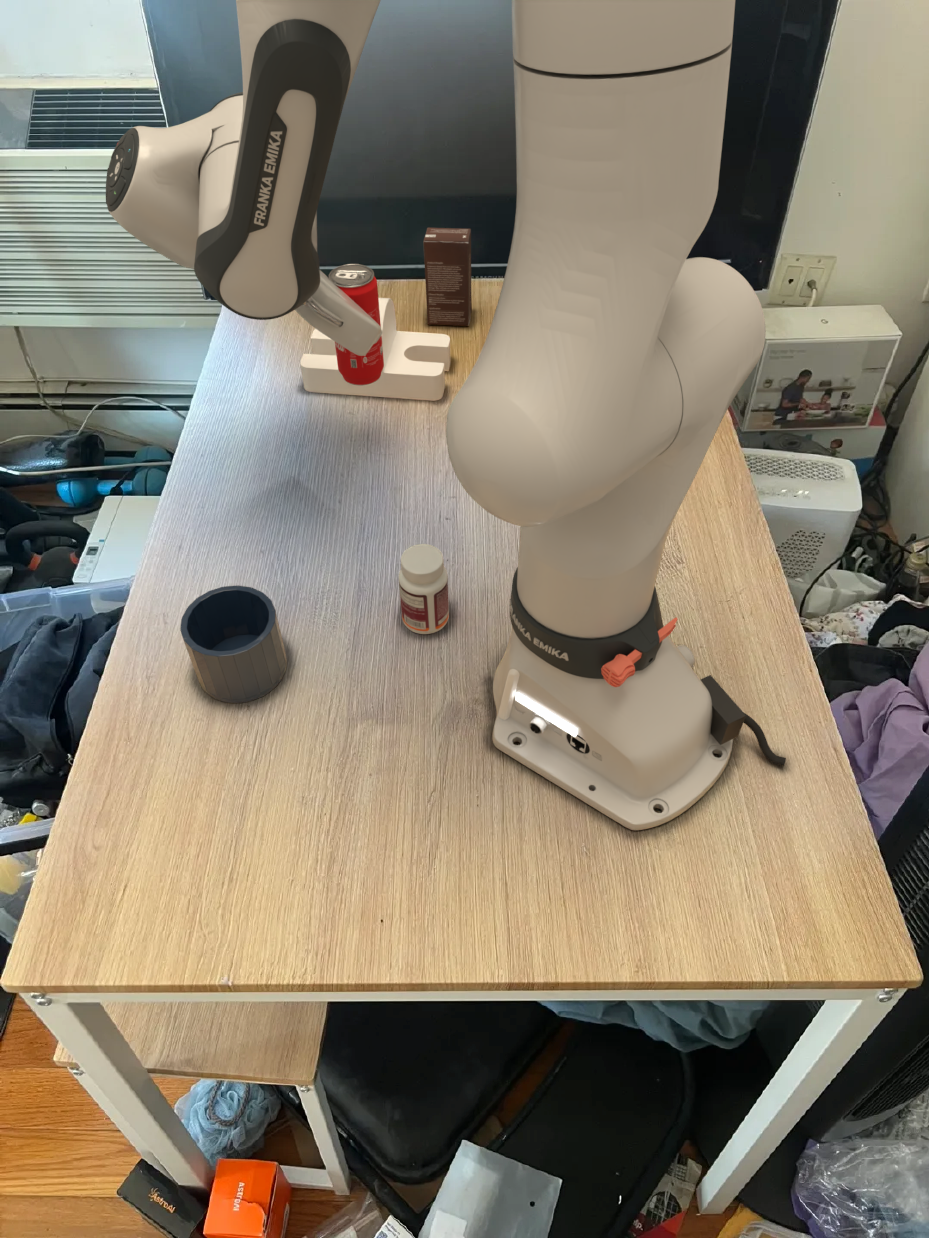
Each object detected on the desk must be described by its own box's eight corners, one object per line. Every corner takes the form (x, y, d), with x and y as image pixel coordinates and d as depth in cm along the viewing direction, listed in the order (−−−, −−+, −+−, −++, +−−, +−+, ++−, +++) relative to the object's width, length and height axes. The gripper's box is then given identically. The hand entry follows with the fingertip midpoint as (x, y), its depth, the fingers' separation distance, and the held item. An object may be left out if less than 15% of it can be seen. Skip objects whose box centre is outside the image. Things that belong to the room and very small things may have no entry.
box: (471, 310, 129) (472, 227, 120) (468, 328, 126) (469, 243, 117) (429, 308, 129) (426, 225, 120) (425, 325, 126) (422, 241, 117)
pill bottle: (439, 594, 93) (437, 535, 87) (455, 627, 90) (455, 568, 84) (395, 607, 92) (389, 548, 86) (410, 641, 89) (406, 582, 83)
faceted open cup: (304, 669, 87) (293, 621, 82) (229, 718, 83) (213, 671, 78) (254, 620, 91) (241, 571, 86) (181, 665, 87) (162, 617, 82)
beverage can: (377, 390, 102) (368, 289, 93) (333, 384, 102) (320, 285, 93) (389, 364, 105) (381, 265, 96) (346, 359, 106) (334, 260, 97)
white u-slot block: (441, 401, 115) (439, 328, 107) (302, 391, 116) (290, 319, 109) (451, 358, 121) (450, 287, 113) (319, 349, 123) (309, 278, 115)
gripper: (329, 277, 82) (427, 341, 92) (239, 193, 93) (335, 259, 104) (292, 336, 83) (392, 392, 94) (207, 247, 95) (305, 306, 106)
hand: (361, 322), depth 99 cm, fingers closed on beverage can, 5 cm apart
